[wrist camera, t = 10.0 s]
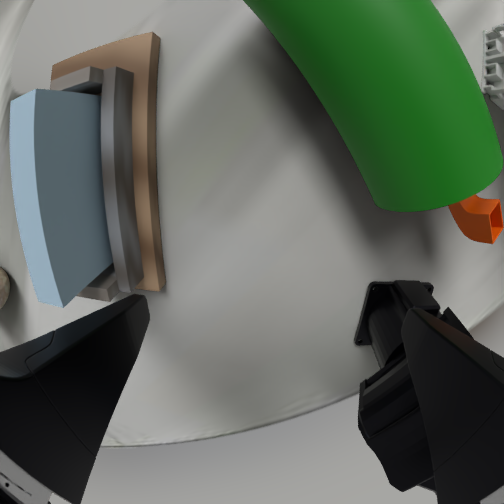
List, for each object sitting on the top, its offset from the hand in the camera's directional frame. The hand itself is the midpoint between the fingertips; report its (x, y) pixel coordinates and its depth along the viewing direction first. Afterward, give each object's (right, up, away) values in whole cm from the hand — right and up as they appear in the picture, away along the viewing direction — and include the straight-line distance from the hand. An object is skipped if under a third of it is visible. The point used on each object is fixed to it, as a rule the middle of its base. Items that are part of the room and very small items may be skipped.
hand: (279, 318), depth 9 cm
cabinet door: (-12, +8, +9) cm, 17 cm away
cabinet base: (-13, +9, +10) cm, 19 cm away
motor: (+2, +19, 0) cm, 20 cm away
